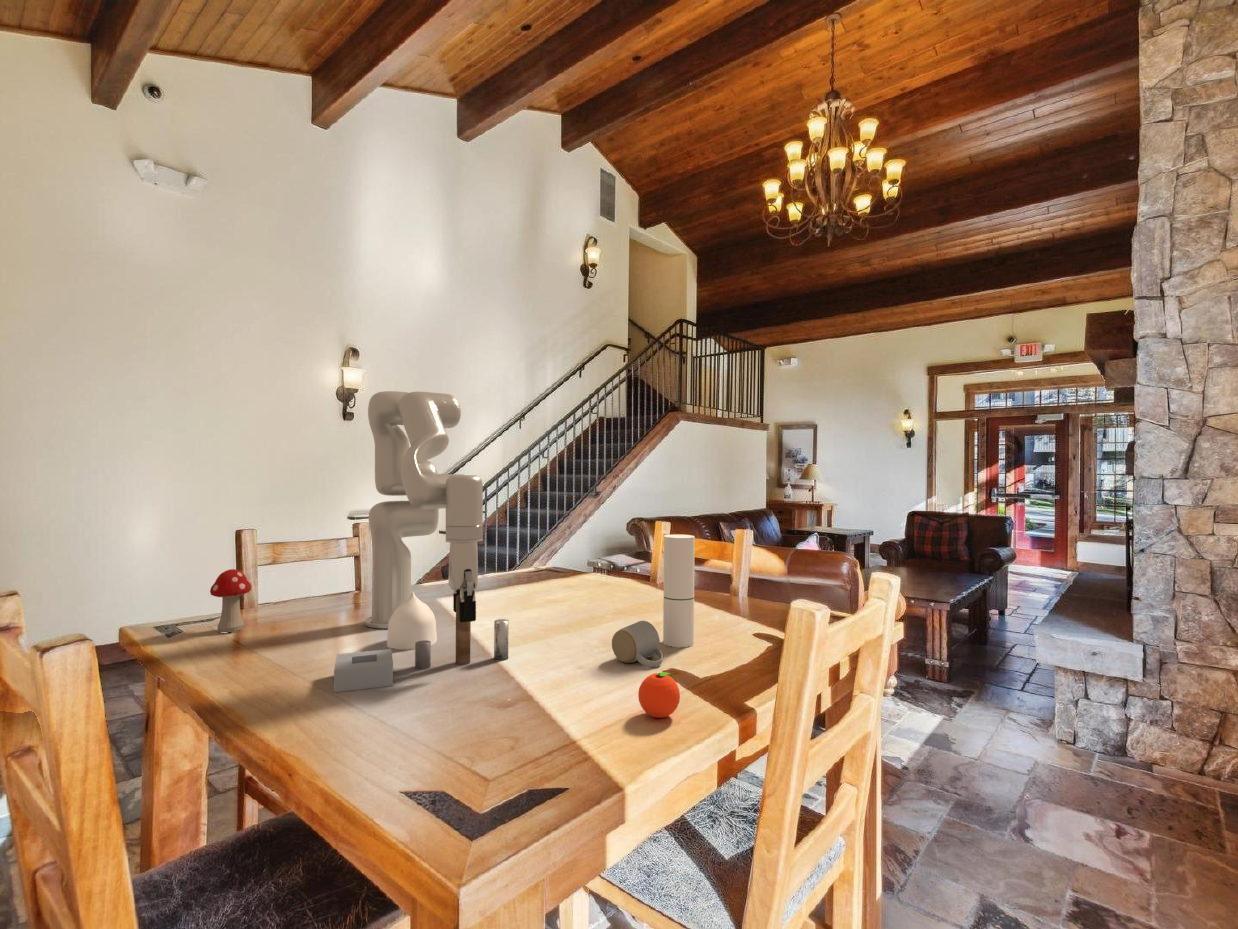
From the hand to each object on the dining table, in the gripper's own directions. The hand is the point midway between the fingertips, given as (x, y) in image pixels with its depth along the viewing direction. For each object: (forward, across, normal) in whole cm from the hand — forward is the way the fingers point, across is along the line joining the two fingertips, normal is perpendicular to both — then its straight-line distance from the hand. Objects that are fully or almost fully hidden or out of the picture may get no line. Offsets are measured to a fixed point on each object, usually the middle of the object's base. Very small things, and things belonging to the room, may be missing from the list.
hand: (464, 616), depth 128 cm
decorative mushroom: (+9, -46, -50) cm, 68 cm away
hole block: (+10, +3, -19) cm, 22 cm away
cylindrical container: (+10, +2, +49) cm, 50 cm away
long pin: (+10, -1, 0) cm, 10 cm away
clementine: (+11, +38, +27) cm, 48 cm away
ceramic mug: (+10, +11, +35) cm, 38 cm away
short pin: (+10, -1, -8) cm, 13 cm away
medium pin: (+10, -1, +8) cm, 13 cm away
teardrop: (+10, -20, -9) cm, 24 cm away
